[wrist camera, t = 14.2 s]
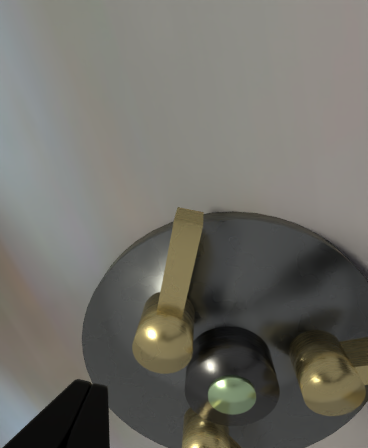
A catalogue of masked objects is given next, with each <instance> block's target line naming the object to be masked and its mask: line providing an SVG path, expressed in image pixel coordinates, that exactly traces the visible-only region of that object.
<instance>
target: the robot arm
mask: <svg viewBox="0 0 368 448" xmlns="http://www.w3.org/2000/svg"><path fill="white" fill-rule="evenodd" d="M3 448H110V444H109V407H108V387H107V386H106V385H101V384H97V383H93V384H92V385H91V382H89V381H84V380H80V379H77V380H75V381H73V382H72V383H71V384H70V385H69V386H68V387H67V388H66V389H65V390H64V391H63V392H61V393H60V394H59V395H58V396H57V397H56V398H55V399H54V400H53V401H52V402H51V403H50V404H49V405H48V406H46V407H45V408H44V409H43V410H42V411H41V412H40V413H39V414H38V415H37V416H36V417H35V418H34V419H33V420H32V421H30V422H29V423H28V424H27V425H26V426H25V427H24V428H23V429H22V430H21V431H20V432H19V433H18V434H17V435H16V436H14V437H13V438H12V439H11V440H10V441H9V442H8V443H7V444H6V445H5V446H4V447H3Z"/></svg>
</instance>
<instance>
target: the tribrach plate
mask: <svg viewBox="0 0 368 448" xmlns="http://www.w3.org/2000/svg"><path fill="white" fill-rule="evenodd" d="M173 223H174V222H171V223H169V224H167V225H164V226H162V227H160V228H158V229H156V230H153V231H152V232H150V233H148V234H147V235H145V236H144V237H142V238H140V239H139V240H137V241H136V242H135V243H133V244H132V245H131V246H130V247H129V248H128V249H126V250H125V251H124V252H123V253H122V254H121V255H120V256H119V257H118V258H117V259H116V261H115V262H114V263H113V264H112V265H111V266H110V268H109V269H108V271H107V272H106V274H105V275H104V277H103V279H102V280H101V282H100V283H99V285H98V287H97V288H96V290H95V292H94V294H93V296H92V298H91V300H90V303H89V305H88V307H87V311H86V314H85V318H84V322H83V332H82V346H83V355H84V360H85V364H86V368H87V371H88V373H89V376H90V378H91V381H92V383H97V384H101V385H106V386H107V387H108V407H109V408H110V409H111V410H112V411H113V412H114V413H115V414H116V415H117V416H118V417H119V418H120V419H121V420H122V421H124V422H125V423H126V424H127V425H129V426H130V427H131V428H132V429H134V430H135V431H137V432H139V433H140V434H142V435H143V436H145V437H147V438H149V439H150V440H152V441H154V442H156V443H158V444H160V445H163V446H165V447H168V448H182V438H183V424H184V415H185V413H186V411H187V410H188V409H189V408H192V410H193V411H194V412H195V413H196V414H198V415H199V416H200V417H202V418H204V419H205V420H207V421H210V422H212V423H215V424H219V425H224V426H229V435H230V436H231V437H232V438H233V439H234V440H235V441H236V442H237V443H238V444H239V445H240V446H241V447H242V448H305V447H307V446H310V445H312V444H314V443H316V442H318V441H320V440H322V439H324V438H326V437H327V436H329V435H331V434H332V433H334V432H336V431H337V430H338V429H339V428H341V427H342V426H343V425H345V424H346V423H347V422H349V421H350V420H351V419H352V418H353V417H354V416H355V415H356V414H357V413H358V412H359V411H360V410H361V409H362V407H363V406H364V405H365V403H366V402H367V401H368V385H364V386H365V389H366V395H365V398H364V400H363V402H362V403H361V405H360V406H359V407H358V408H356V409H355V410H353V411H351V412H349V413H347V414H344V415H339V416H325V415H321V414H318V413H315V412H314V411H312V410H311V409H309V408H308V407H307V405H306V404H305V402H304V399H303V396H302V393H301V390H300V387H299V384H298V381H297V378H296V375H295V372H294V369H293V366H292V363H291V360H290V357H289V347H290V344H291V342H292V341H293V340H294V339H295V338H296V337H297V336H298V335H300V334H302V333H304V332H307V331H311V330H323V331H327V332H329V333H331V334H333V335H334V336H335V337H337V339H338V340H339V341H346V340H352V339H358V338H364V337H368V282H367V280H366V279H365V278H364V277H363V275H362V274H361V273H360V272H359V270H358V269H357V268H356V267H355V266H354V265H353V264H352V263H351V262H350V261H349V260H348V259H347V258H346V257H345V256H344V255H343V254H342V253H341V252H340V251H339V250H338V249H337V248H336V247H335V246H333V245H332V244H331V243H329V242H328V241H326V240H325V239H323V238H322V237H320V236H319V235H318V234H316V233H314V232H312V231H310V230H308V229H306V228H304V227H302V226H300V225H298V224H295V223H292V222H289V221H286V220H283V219H280V218H277V217H272V216H267V215H262V214H257V213H246V212H215V213H208V214H203V228H202V233H201V237H200V242H199V246H198V250H197V255H196V259H195V263H194V268H193V272H192V277H191V281H190V285H189V290H188V294H187V298H188V299H189V300H190V301H191V303H192V305H193V307H194V311H195V319H194V336H193V353H192V358H191V360H190V362H189V363H188V365H187V366H186V367H184V368H183V369H181V370H180V371H177V372H174V373H169V374H161V373H156V372H152V371H150V370H148V369H146V368H144V367H143V366H142V365H140V364H139V363H138V361H137V360H136V359H135V357H134V354H133V351H132V344H133V341H134V337H135V334H136V331H137V328H138V325H139V321H140V318H141V315H142V312H143V309H144V306H145V303H146V301H147V300H148V299H149V297H151V296H152V295H153V294H155V293H157V292H160V291H161V286H162V281H163V276H164V270H165V265H166V260H167V254H168V249H169V244H170V239H171V233H172V228H173Z"/></svg>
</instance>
